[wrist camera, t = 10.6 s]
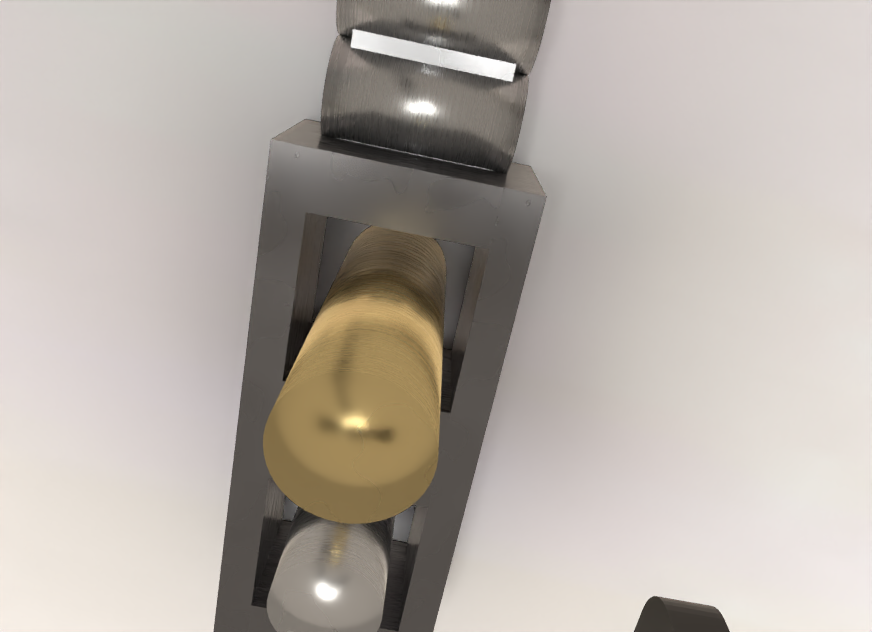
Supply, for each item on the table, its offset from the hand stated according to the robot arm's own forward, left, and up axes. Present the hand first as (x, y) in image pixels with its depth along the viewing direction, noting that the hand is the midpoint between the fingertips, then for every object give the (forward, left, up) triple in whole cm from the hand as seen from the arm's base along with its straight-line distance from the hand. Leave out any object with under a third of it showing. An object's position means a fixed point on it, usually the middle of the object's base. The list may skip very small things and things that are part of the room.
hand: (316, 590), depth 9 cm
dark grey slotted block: (+4, 0, -14) cm, 14 cm away
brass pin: (0, 0, -14) cm, 14 cm away
